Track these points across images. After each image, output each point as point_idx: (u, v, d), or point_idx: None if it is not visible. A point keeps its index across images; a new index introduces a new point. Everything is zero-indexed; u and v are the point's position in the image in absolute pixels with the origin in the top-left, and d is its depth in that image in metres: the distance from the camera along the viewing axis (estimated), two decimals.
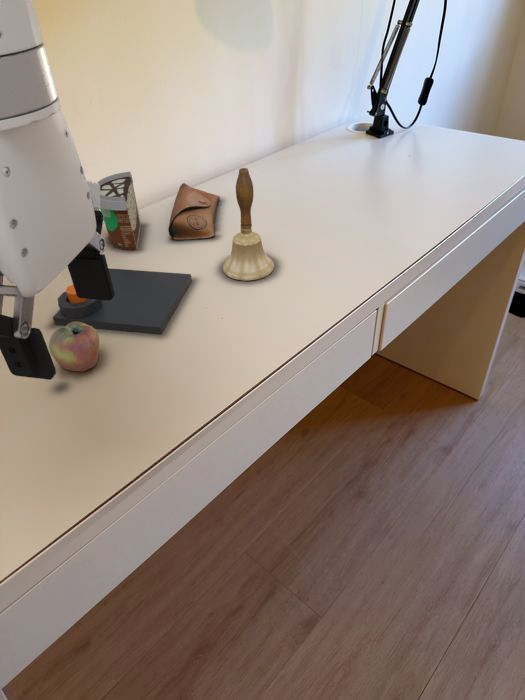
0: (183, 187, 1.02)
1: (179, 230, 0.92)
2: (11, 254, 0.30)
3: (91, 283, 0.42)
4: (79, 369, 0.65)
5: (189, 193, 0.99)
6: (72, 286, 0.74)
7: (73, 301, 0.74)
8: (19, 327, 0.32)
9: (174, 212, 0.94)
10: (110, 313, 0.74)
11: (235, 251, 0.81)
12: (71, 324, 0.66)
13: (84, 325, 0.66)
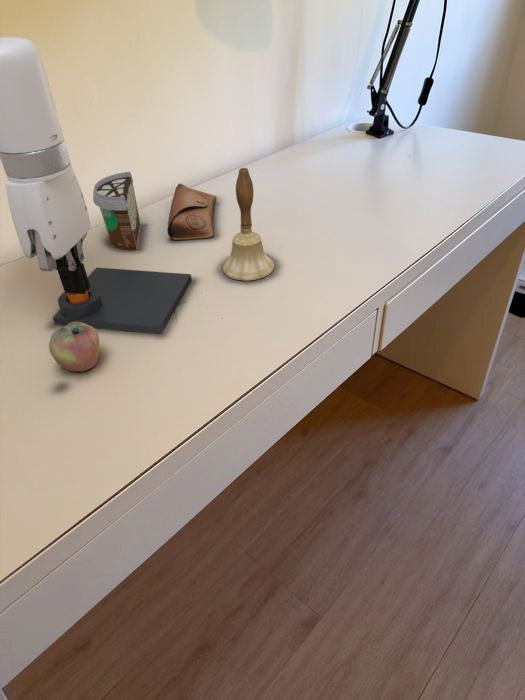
0: (180, 187, 1.02)
1: (178, 230, 0.92)
2: (48, 237, 0.63)
3: None
4: (79, 369, 0.65)
5: (186, 193, 0.99)
6: None
7: (74, 303, 0.74)
8: (71, 265, 0.69)
9: (172, 212, 0.94)
10: (110, 313, 0.74)
11: (235, 251, 0.81)
12: (71, 324, 0.66)
13: (84, 325, 0.66)
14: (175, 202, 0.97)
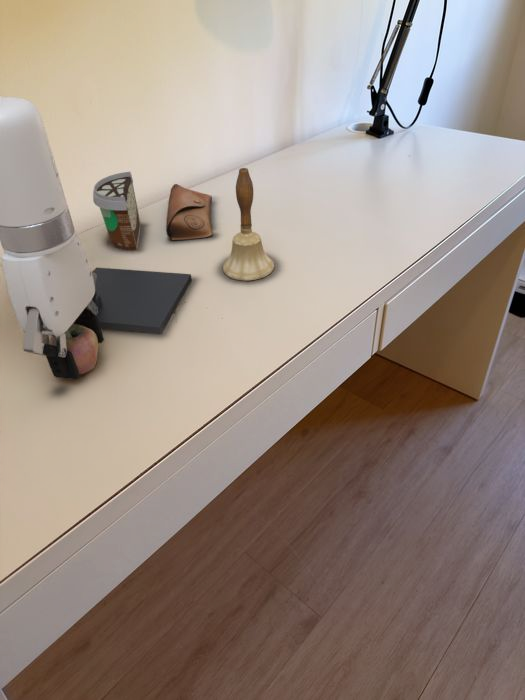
0: (176, 188, 1.02)
1: (177, 230, 0.92)
2: (50, 314, 0.56)
3: None
4: None
5: (183, 194, 0.99)
6: None
7: None
8: (61, 351, 0.60)
9: (171, 213, 0.94)
10: (110, 313, 0.74)
11: (235, 251, 0.81)
12: (70, 327, 0.65)
13: (83, 328, 0.65)
14: (172, 202, 0.97)
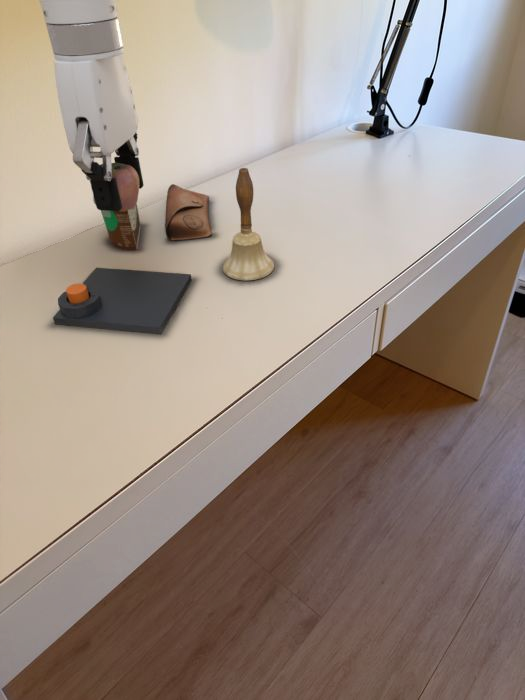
0: (173, 188, 1.02)
1: (176, 230, 0.92)
2: (99, 127, 0.58)
3: None
4: None
5: (180, 194, 0.99)
6: (72, 286, 0.74)
7: (73, 301, 0.74)
8: (107, 173, 0.61)
9: (169, 213, 0.94)
10: (110, 313, 0.74)
11: (235, 251, 0.81)
12: (112, 163, 0.67)
13: None
14: (170, 203, 0.97)
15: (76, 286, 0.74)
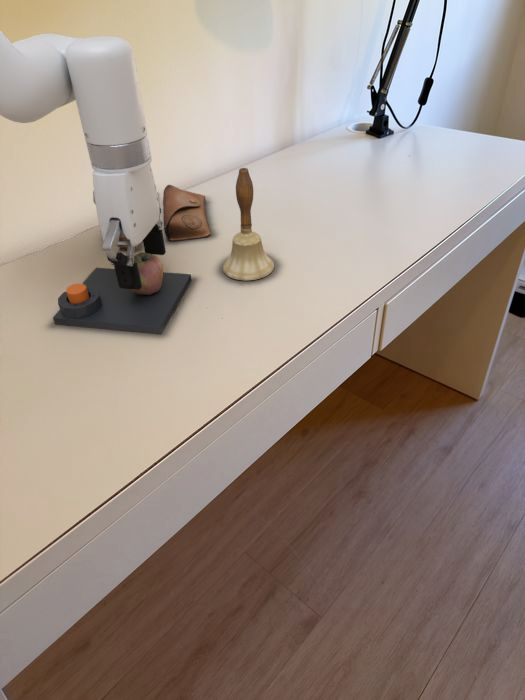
0: (169, 188, 1.02)
1: (175, 230, 0.92)
2: (129, 225, 0.67)
3: (154, 245, 0.79)
4: (147, 292, 0.76)
5: (177, 194, 0.99)
6: (72, 286, 0.74)
7: (73, 301, 0.74)
8: (129, 260, 0.69)
9: (168, 213, 0.94)
10: (110, 313, 0.74)
11: (235, 251, 0.81)
12: (140, 254, 0.77)
13: (151, 254, 0.76)
14: (168, 203, 0.97)
15: (76, 286, 0.74)
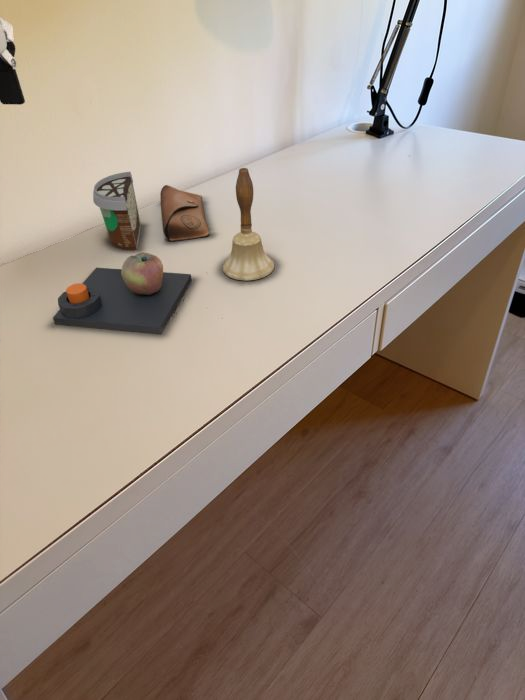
0: (167, 189, 1.02)
1: (175, 231, 0.92)
2: None
3: (8, 90, 0.67)
4: (147, 292, 0.76)
5: (175, 194, 0.99)
6: (72, 286, 0.74)
7: (73, 301, 0.74)
8: None
9: (166, 213, 0.94)
10: (110, 313, 0.74)
11: (235, 251, 0.81)
12: (140, 254, 0.77)
13: (151, 254, 0.76)
14: (166, 203, 0.97)
15: (76, 286, 0.74)
